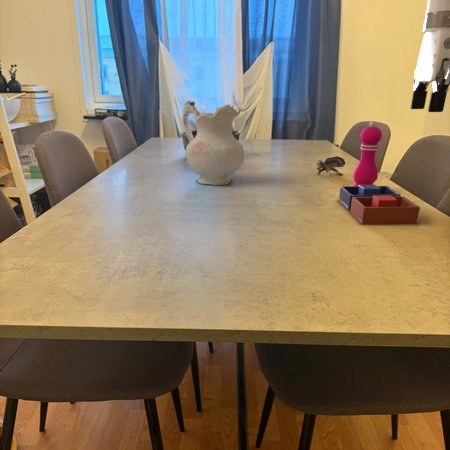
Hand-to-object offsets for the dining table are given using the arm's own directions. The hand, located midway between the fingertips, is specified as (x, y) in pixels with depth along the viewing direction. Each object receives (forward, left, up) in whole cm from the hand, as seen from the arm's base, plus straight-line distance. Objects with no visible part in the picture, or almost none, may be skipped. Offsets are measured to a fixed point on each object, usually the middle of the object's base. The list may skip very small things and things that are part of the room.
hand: (425, 110), depth 101 cm
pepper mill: (+4, -24, -24) cm, 35 cm away
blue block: (+8, -7, -24) cm, 26 cm away
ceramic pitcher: (+51, -40, -24) cm, 69 cm away
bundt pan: (+52, -92, -24) cm, 108 cm away
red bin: (+8, +5, -24) cm, 26 cm away
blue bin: (+8, -7, -24) cm, 27 cm away
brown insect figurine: (+9, -48, -24) cm, 55 cm away
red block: (+8, +5, -24) cm, 26 cm away
